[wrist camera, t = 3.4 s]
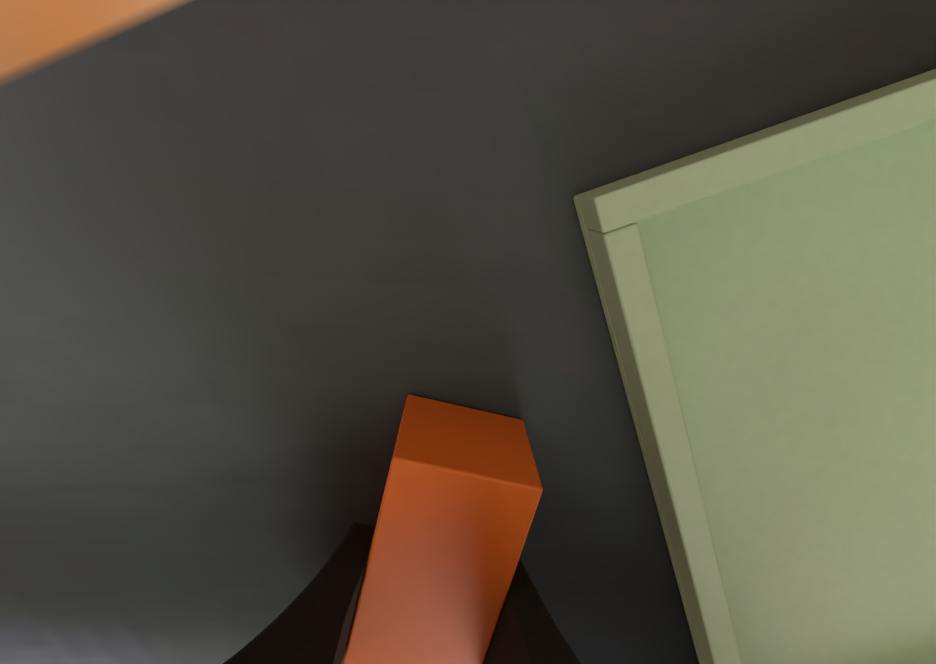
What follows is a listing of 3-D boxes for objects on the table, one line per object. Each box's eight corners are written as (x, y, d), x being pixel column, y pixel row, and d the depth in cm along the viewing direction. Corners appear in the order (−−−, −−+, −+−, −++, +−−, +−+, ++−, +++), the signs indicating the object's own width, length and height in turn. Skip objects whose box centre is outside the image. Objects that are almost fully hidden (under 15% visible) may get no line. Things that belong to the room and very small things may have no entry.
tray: (1031, 644, 17) (1106, 703, 15) (716, 727, 18) (747, 792, 16) (1027, 36, 11) (1142, 5, 9) (571, 196, 12) (593, 197, 10)
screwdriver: (407, 393, 14) (392, 457, 10) (524, 419, 14) (544, 489, 11) (317, 767, 18) (286, 898, 14) (408, 781, 18) (398, 912, 15)
